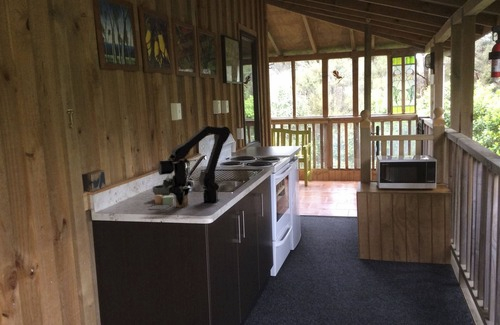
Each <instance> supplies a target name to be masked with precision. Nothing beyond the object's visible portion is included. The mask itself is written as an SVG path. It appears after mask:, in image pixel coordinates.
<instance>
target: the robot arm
mask: <svg viewBox="0 0 500 325" xmlns="http://www.w3.org/2000/svg"><path fill="white" fill-rule="evenodd" d="M230 134H231V130H230V128H229V127H228V126H225V125H223V126H222V125H219V126H210V125H204V126H202V127H201V129H199V130H198V131H197V132H195V134H193V135H192V136H191V137H190V138H188V139H187V140H186V141H185V142H183V143H182V142H181V143H180V144H178V145H176V146H174V147H173V148H172V150H171V154H170V156H169V157H168V158H167V159H166V160H158V165H157V171H158V172H157V173H158V174H159V176H161V175H171V174H173V175H172V178H171V179H170V180H168V179H166V178H165V179H163V182H162V185H163V186H165V188H167V187H169V186H171V187H170V188H169V189H168V192H169V193H170V194H172V195H174V196H175V199H176V198H177V200H178V203H179V205H182V202H183V198H184V195H188V196H189V193H190V190H191V189H192V187H194V182H193V181H192V180H187V177H188V173H187V168H186V167H187V166H186V164H190V160H188V159H187V158H186V157H187V156H188V155H189V153H190V152H191V150H192V149H193V148H194V147H195V146H197V144H199V143H200V142H201V141H202V140H203V139H205V138H206V137H207V136H208V135H213V145H212V149H211V152H210V155H209V159H208V161H207V165H206V168H205V170H200V174H199V176H198V183H199V185H201V186H202V189H203V193H202V195H203V196H202V197H203V203H207V204H208V203H209V204H211V203H213V204H215V203H217V202H219V200H220V198H219V192H218V191H219V188H220V186H219V184H218V183H217V182H216V181H215V180H216V169H217V166H218V164H219V163H218V162H219V159H220V156H221V153H222V149H223V147H224V145H225V143H226V142H227V140H228V139H229V137H230V136H231V135H230Z"/></svg>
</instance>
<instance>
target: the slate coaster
mask: <svg viewBox="0 0 500 325" xmlns="http://www.w3.org/2000/svg"><path fill="white" fill-rule="evenodd" d="M170 207H171V205H163V204H162V205H155V204H154V205H152V206H150V207H149V208H148V211H165V210H167V209H168V208H170Z"/></svg>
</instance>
